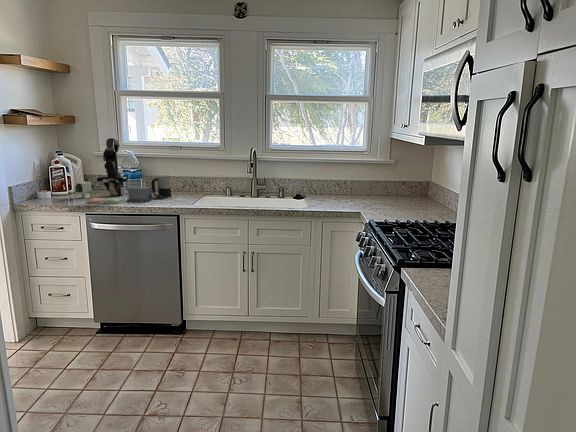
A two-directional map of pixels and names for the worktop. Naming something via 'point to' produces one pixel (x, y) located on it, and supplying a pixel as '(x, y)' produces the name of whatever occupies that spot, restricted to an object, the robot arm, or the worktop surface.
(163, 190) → the coffee carafe
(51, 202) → the worktop surface
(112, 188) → the bronze cartridge
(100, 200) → the terracotta pad
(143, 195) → the graphite housing
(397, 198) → the worktop surface
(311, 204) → the worktop surface
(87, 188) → the pneumatic valve
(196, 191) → the worktop surface
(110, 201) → the sage pad
